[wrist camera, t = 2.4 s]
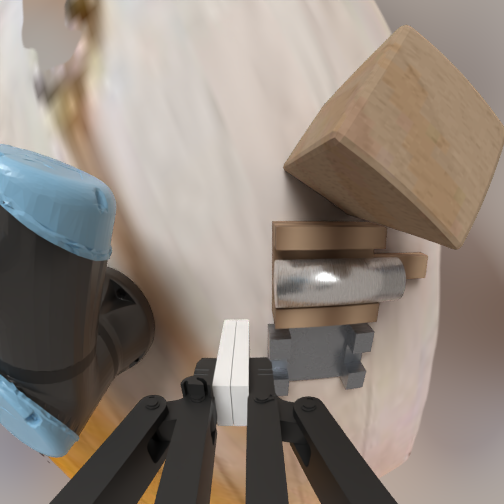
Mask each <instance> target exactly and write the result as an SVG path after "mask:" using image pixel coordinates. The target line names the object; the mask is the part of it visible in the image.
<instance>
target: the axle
mask: <svg viewBox="0 0 504 504" xmlns="http://www.w3.org/2000/svg"><path fill="white" fill-rule="evenodd" d="M405 285H406V274H405V269H404V266H403V263H402V262H401V260H400V259H399V258H397V257H381V258H343V259H299V260H275V262H274V300H275V307H276V308H292V307H314V306H332V305H348V304H361V303H374V302H385V301H396V300H399V299H400V298H401V297H402V295H403V293H404V290H405Z"/></svg>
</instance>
